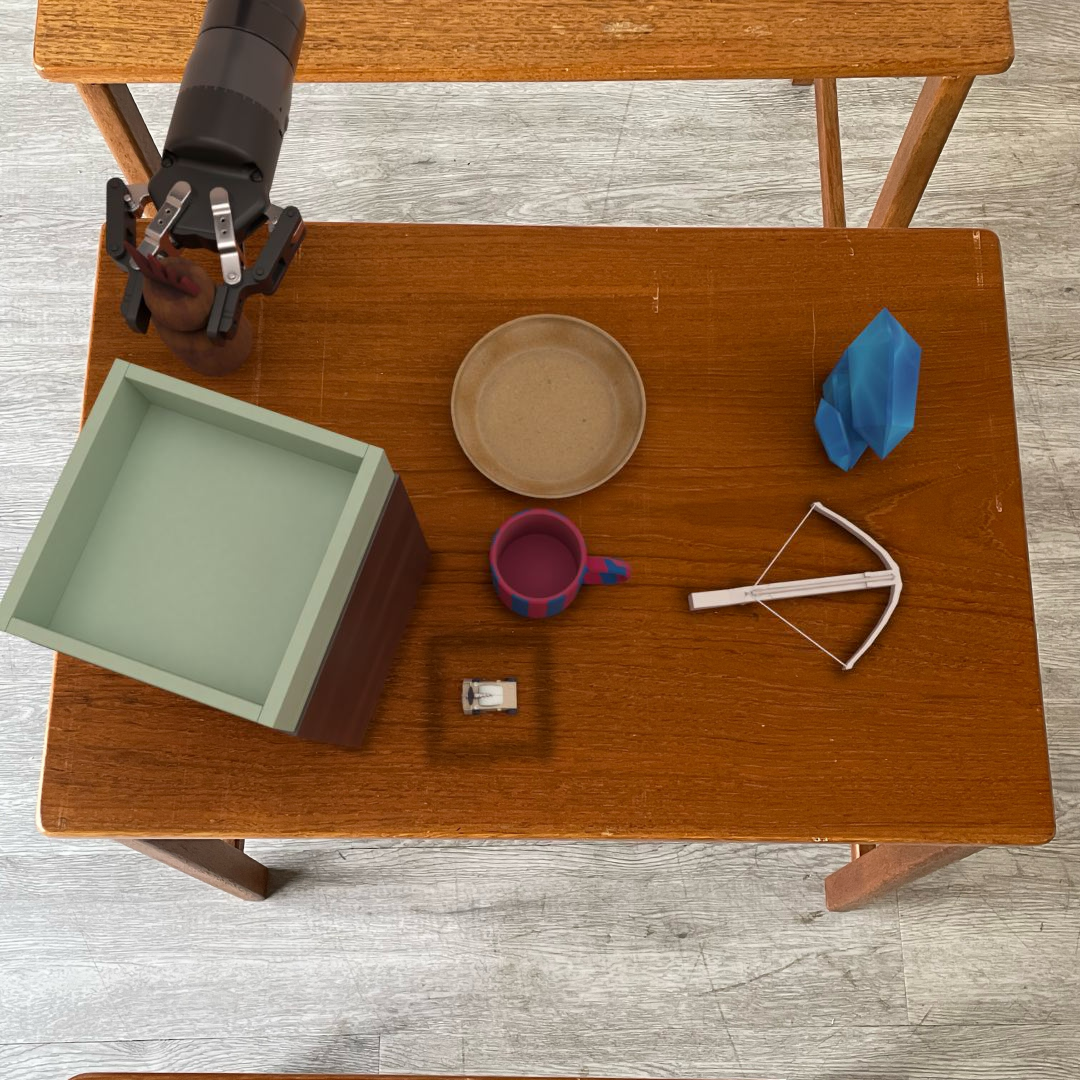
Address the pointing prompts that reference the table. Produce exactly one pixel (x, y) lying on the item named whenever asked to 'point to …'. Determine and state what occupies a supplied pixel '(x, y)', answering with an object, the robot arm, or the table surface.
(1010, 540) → the table surface
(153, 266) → the wooden figurine
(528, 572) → the cup
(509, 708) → the toy car
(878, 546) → the crossbow
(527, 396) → the plant saucer
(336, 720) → the plinth
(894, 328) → the crystal
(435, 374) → the table surface
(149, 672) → the bin
